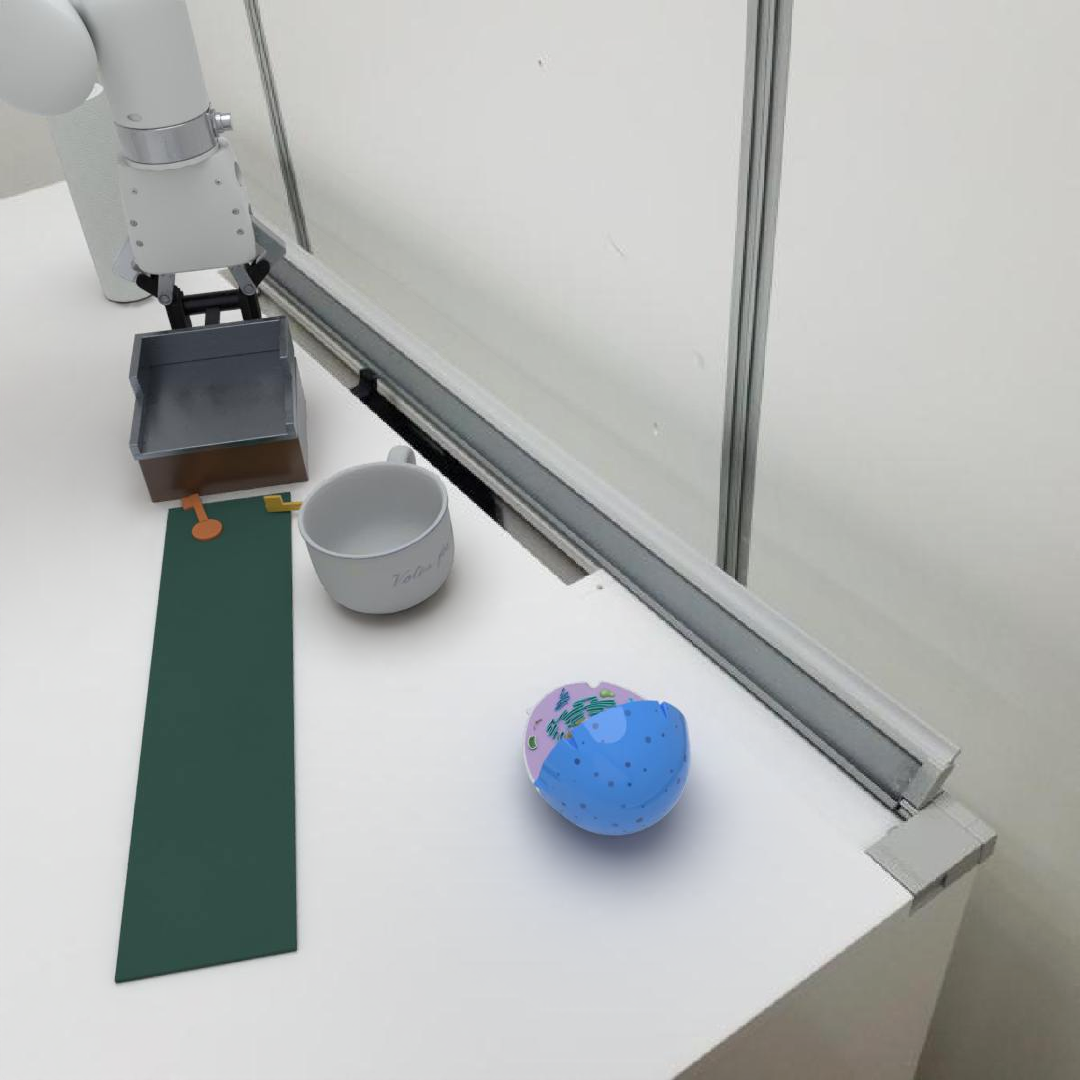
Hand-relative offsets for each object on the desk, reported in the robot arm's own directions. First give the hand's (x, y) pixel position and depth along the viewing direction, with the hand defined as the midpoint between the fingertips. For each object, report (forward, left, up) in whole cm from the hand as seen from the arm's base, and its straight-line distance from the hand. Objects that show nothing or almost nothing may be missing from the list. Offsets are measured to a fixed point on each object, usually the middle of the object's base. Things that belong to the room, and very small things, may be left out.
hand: (219, 330), depth 104 cm
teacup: (+18, -26, -7) cm, 32 cm away
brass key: (+10, -18, -6) cm, 22 cm away
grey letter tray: (+1, -7, -1) cm, 7 cm away
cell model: (+33, -47, -7) cm, 57 cm away
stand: (+2, -10, -7) cm, 12 cm away
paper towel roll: (-15, +21, -7) cm, 27 cm away
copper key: (+1, -19, -6) cm, 20 cm away
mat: (+7, -37, -7) cm, 38 cm away
